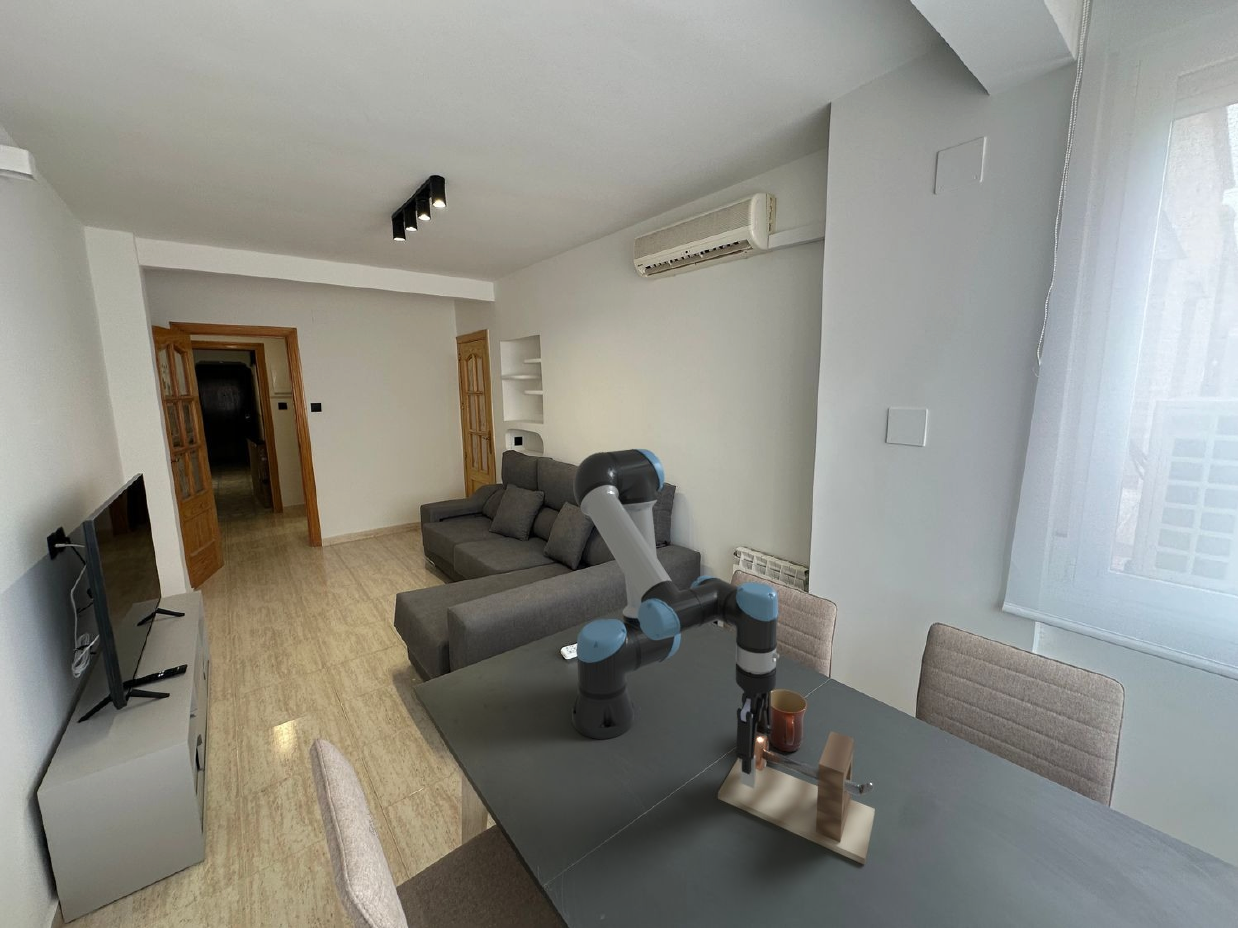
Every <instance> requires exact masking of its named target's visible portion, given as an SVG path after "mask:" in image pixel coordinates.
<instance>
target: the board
mask: <svg viewBox="0 0 1238 928" xmlns="http://www.w3.org/2000/svg"><path fill="white" fill-rule="evenodd" d="M740 772H741V763H740V761H739V758H737V760H736V762H735V763H734V764H733V766H732V768H731V770H730V771H729V773H728V775H727V777H726V779H725V780H724V782H723V783H722V785H721V787H720V789H718V792H717V799H718V800H720V801H723V802H725V803H728V804H729V805H731V806H734V807H736V808H737V809H740V810H743V811H745V812H747V813H749V814H751V815H753V816H756V817H758V818H760V819H762V820H765V821H767V822H769V823H771V824H774V825H776V826H777V827H780V828H782V829H784V830H787V831H788V832H791V833H792V834H795V835H798V836H800V837H802V838H804V839H807V840H808V841H811V842H813V843H815V844H818V845H819V846H822V847H824V848H826V849H829V851H833V852H835V853H836V854H837V853H838V854H840V855H842V856H843V857H846V858H848V859H850V860H853V861H855V862H857V863H859V864H861V865H864V866H865V864H866V859H867V854H868V849H869V843H870V839H871V835H872V829H873V824H874V819H875V810H876V809H875V808H873V807H871V806H868V805H867V804H863V803H861V802H858V801H856V800H853V799H851V803H850V807H849V811H848V815H847V819H846V823H845V826H844V830H843V834H842V838H841V842H837V841H835V840H833V839H831V838H828V837H826V836H824V835H822V834H819V833H817V832H816V818H817V794H818V785H815V784H812V783H810V782H808V781H806V780H803V779H800V778H797V777H795V776H792V775H790V774H787V773H785V772H782V771H779V770H777V769H775V768H772V767H770V766H768V765H766V766H765V767H764V768H763V770H762V771H760V770H758V769H756V776H755V788H754V789H753V788H751V787H749V786H746V785H744V784H742V783H740Z"/></svg>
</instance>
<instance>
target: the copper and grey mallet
mask: <svg viewBox="0 0 1238 928" xmlns="http://www.w3.org/2000/svg"><path fill="white" fill-rule="evenodd" d="M769 748H770V740H769V736H767V737H765V736H762V735H760V734H757V733H756V742H755V750H754V755H756V769H758V770H760V771H762V770H763V768H764V766H765V764H766V765H767V762H771V763H772V764H776V765H778V766H781V767H783V768H785V769H788V770H791V771H794V772H796V773H798V774H801V775H803V776H805V777H809V778H811V779H814V780H817V781H818V770H819V768H818V767H817V768H816V767H814V766H812V765H809V764H806V763H803V762H801V761H798V760H797V759H793V758H791V757H789V756H788V757H787V756H786V755H785V756H784V755H782V754H780V753H777V752H774V751H772V750H769ZM739 761H740V763H741V759H740V758H739ZM874 790H875V786H874V784H873V783H872V782H870V781H867V782H864V783H862V784H860V783H857V782H854V781H849V780H847V779H846V780H845V791H847V792H850V793H851V795H855V796H859V797H860V795H861V796H864V795H866V794H869V793H871V792H873V791H874Z"/></svg>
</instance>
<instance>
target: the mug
mask: <svg viewBox="0 0 1238 928" xmlns="http://www.w3.org/2000/svg"><path fill="white" fill-rule="evenodd" d="M807 708H808V702H807V700H806V698H805V697H803V696H802V695H801V694H799V692H798V693H797V692H795V691H793V690H790V689H784V688H783V689H782V688H781V689H780V688H779V689H773V690H772V691H771V724H770V726H768V728H769V729H772V732H771V735H769V734H767V736H768V739H769V743H770V744H771V745H772V746H773V747H775V748H776V749H778V750H780V751H782V752H791V753H792V752H795V751H798V750H799V749H800V748H801V746H802V744H803V739H804V715H805V713H806V711H807Z"/></svg>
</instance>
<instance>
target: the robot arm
mask: <svg viewBox="0 0 1238 928" xmlns="http://www.w3.org/2000/svg"><path fill="white" fill-rule="evenodd" d="M572 482H573V483H572V484H573V485H572V486H573V487H572V488H573V495H574V499H575V501H576V504H577V506H578V507H579V509H580V511H581V513H582V514H583V515H585V516H588V517H589V518H590V519H591V521H592V522H593V524H594V526H595V527H596V529H597V531H598V533H599V534H600V536H601V537H602V539H603V540H604V542H605V544H606V546H607V548H608V549H609V551H610V553H611V554H612V556H613V557H614V559H615V561H616V562H617V565H618V566H619V567H620V569H621V571H622V573H623V574H624V581H625V590H626V599H627V605H626V606H625V607H624V609H623V610H622V619H623V621H621V620H620V619H617V618H609V617H608V618H607V619H606V618H599V619H595V620H593V621H591V622H589V623H587V624H586V625H584V626H583V627H582V628H581V629H580V631H579V633H578V634H577V640H576V642H577V643H576V649H575V651H576V656H577V657H576V659H577V661H576V662H577V684H578V691H577V693H576V696H575V699H574V704H573V706H572V709H571V721H572V725H573V727H574V729H575V730H576V731H577V732H578V733H579V734H581V735H583V736H585V737H588V738H592V739H598V740H600V739H601V740H602V739H603V740H605V739H611V738H616V737H619V736H620V735H623V734H625V733H626V732H628V731H629V730H630V729H631V727H632V726H633V724H634V722H635V707H634V704H633V702H632V699H631V697H630V694H629V693H630V692H629V690H628V688H627V675H628V674H631V673H632V672H635V671H638V670H641V669H644V668H646V667H649V666H651V665H654V664H657V663H661V662H664V661H666V660H667V659H668V658H672V657H673V656H674V655H675V654H676V652H677V651H678V650H679V647H680V645H681V639H682V638H681V637H682V636H681V635H682V634H683V633H685V632H687V631H691V630H692V629H696V628H700V627H702V626H705V625H708V624H711V623H714V622H717V621H718V622H719V621H720V622H722V623H724V624H726V625H728V626H730V627H733V628H734V629H735V637H736V638H735V662H736V663H735V683H736V684H737V686H738V687H739V688H740V689H741V690H742V691H743V692H742V695H741V703H742V706H741V708H740V707H738V708H737V710H736V719H737V728H736V750H735V757H736V758H737V759H738V758H740V759H741V772H740V783H742V784H744V785H746V786H749V787H751V788H753V789H754V788H755V776H756V755H754V750H755V742H756V733H757V734H760V735H762V736H765V737H768V736H769V735H771V732H772V729H769V728H768V726H770V724H771V691H773V690H775V688H776V686H777V668H776V666H777V660H779V658H780V654H779V653H777V645H778V644H777V643H778V641H777V640H778V639H777V638H778V637H777V635H778V621H779V620H778V619H779V611H780V610H779V601H778V600H779V598H778V592H777V590H776V589H775V588H774V587H773V586H771V585H769V584H767V583H759V582H756V581H751V582H749V581H748V582H744V583H741V584H740V585H739V586H736V585H734V584H732V583H730V582H727V581H725V580H723V579H721V578H718V577H714V576H711V575H708V574H705V575H700V576H698V577H697V579H696V580H695V581H692V584H691V585H690V588H686V589H681V590H679V589H678V588H677V586H676V585H675V584H674V582H673V581H672V579H671V578H670V576H669V574H668V572H667V571H666V570H665V568H664V566H663V565H662V564H661V562H660V560H659V559H658V556H657V546H656V536H655V535H656V533H655V527H654V524H655V523H654V515H653V506H654V505H655V504H656V503H657V501H658V495H657V493H658V492H660V491H661V490H662V489H663V487H664V484H665V470H664V467H663V464H662V462H661V461H660V458H659V457H658V456H656V454H655V453H654V452H653V451H651V450H650V449H649V450H648V449H644V448H631V449H624V450H614V451H607V452H606V451H605V452H604V451H600V452H595V453H592V454H590V455H588V456H587V457H586V458H584V459H583V460H582V461H581V463H580V464H579V465H578V467H577V469H576V471H575V472H574V477H573V481H572ZM768 734H769V735H768ZM765 766H767V763H766V764H765ZM765 766H764V767H765Z"/></svg>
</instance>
